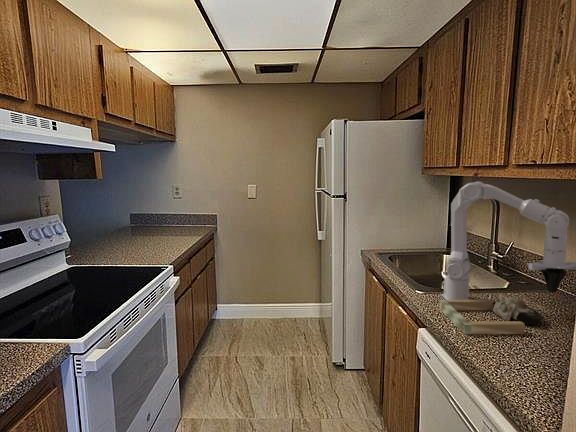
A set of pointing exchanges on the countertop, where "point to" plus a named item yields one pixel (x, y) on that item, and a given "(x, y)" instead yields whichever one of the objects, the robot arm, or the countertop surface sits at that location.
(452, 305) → the frame
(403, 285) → the countertop surface
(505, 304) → the caster wheel
